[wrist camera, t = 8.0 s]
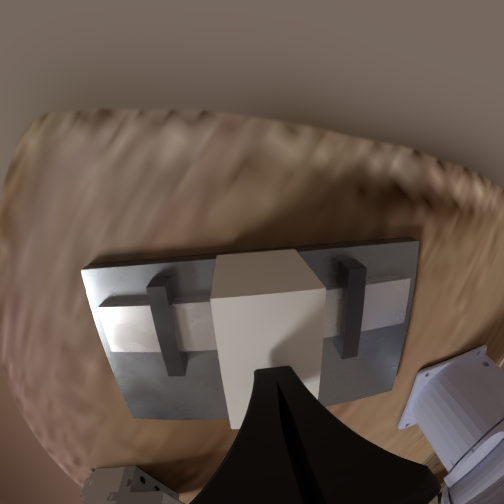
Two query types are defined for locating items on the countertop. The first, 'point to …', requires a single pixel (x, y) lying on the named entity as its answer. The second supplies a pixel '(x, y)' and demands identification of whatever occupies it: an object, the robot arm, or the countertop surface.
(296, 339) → the block
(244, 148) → the countertop surface
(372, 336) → the rail board
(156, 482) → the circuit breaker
